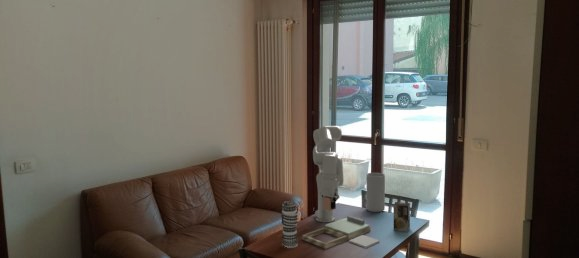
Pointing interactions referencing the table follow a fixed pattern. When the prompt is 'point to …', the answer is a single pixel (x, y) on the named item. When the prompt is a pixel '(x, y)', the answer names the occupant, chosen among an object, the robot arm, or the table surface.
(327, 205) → the terracotta block
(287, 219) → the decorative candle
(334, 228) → the sliding lid
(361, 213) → the table surface
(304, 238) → the well frame
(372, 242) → the grey mat
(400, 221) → the coffee box
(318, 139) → the robot arm
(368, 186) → the cylinder vase
